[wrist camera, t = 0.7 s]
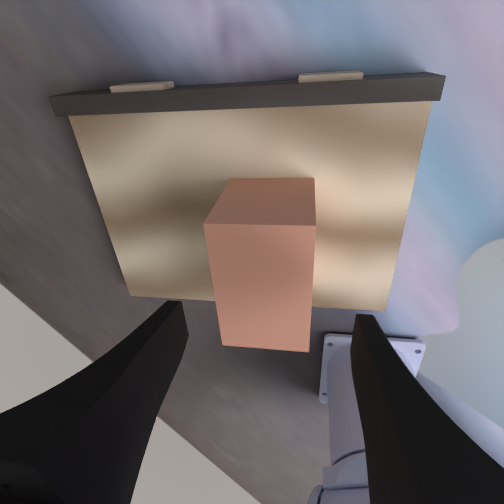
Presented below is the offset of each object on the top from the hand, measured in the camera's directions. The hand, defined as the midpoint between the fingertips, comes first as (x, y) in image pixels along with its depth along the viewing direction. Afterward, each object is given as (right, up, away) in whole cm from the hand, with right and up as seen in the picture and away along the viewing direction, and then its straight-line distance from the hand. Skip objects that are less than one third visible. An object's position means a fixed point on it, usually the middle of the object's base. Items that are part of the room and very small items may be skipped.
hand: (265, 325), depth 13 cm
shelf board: (-1, +6, +9) cm, 11 cm away
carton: (+1, +4, +8) cm, 9 cm away
